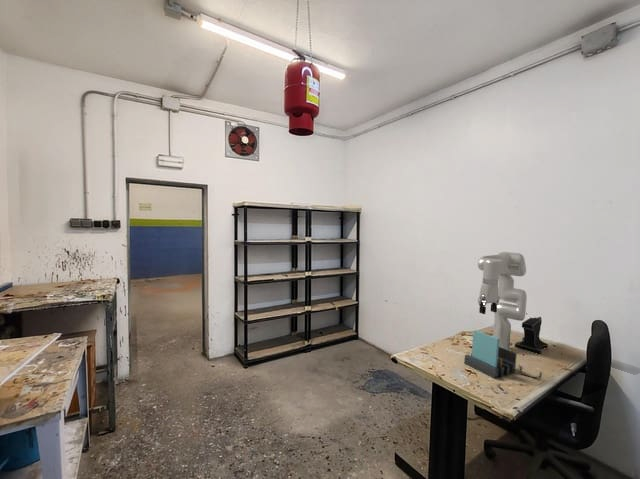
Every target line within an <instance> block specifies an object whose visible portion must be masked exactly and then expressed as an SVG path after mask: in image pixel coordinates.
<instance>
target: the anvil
mask: <svg viewBox="0 0 640 479" xmlns="http://www.w3.org/2000/svg"><path fill="white" fill-rule="evenodd" d="M541 325H542V316H539V317H536V316H535V317H529V318H528V319H525V320H523V321H522V322H521V328H522V329H523V334H524V335H523V337H521V341H517V342H514V348H516V349H520V350H522V351H525V350H526V352H529V351H530V353H532V352H533V354H535V353H537V354H536V355H539V354H540V356H542V352H543V350H542V349H544V348H547V347H548V348H549V343H546V342H544V341H543V340H541V339H540V333H541V328H542V326H541ZM548 348H547V349H548ZM544 350H545V349H544Z"/></svg>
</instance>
